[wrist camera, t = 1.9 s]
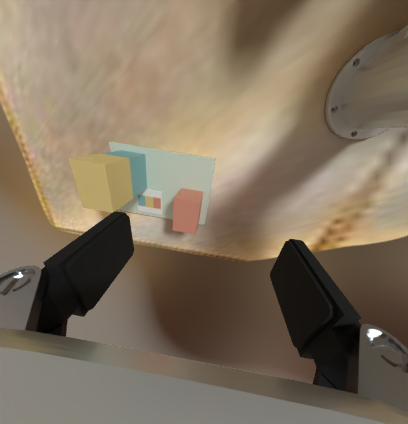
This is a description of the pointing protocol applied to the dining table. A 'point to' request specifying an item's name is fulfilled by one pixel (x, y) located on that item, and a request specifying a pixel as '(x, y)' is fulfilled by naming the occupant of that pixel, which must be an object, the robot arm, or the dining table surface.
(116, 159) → the tower base
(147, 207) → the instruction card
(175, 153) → the mat
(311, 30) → the dining table surface
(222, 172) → the dining table surface
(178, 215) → the brick
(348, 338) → the robot arm
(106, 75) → the dining table surface
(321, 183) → the dining table surface
